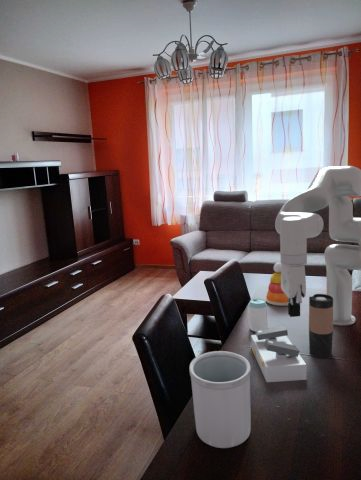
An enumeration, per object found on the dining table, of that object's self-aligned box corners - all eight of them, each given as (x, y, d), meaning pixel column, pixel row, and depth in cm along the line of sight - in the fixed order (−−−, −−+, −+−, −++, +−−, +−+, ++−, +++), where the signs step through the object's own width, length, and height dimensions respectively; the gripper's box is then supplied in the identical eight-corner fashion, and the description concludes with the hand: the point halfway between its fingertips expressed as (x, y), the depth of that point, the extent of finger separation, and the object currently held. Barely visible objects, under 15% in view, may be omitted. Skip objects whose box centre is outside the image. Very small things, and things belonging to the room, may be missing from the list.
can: (247, 332, 148) (247, 303, 145) (251, 324, 154) (250, 297, 152) (265, 334, 145) (265, 304, 143) (268, 326, 151) (268, 298, 149)
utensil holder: (213, 460, 85) (210, 390, 81) (182, 422, 98) (178, 361, 94) (264, 435, 91) (263, 370, 88) (229, 403, 104) (227, 345, 101)
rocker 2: (264, 344, 119) (265, 338, 118) (294, 351, 119) (296, 345, 119) (266, 350, 115) (268, 343, 115) (297, 357, 116) (299, 350, 116)
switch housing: (250, 348, 135) (250, 331, 134) (284, 345, 135) (284, 329, 134) (265, 382, 113) (265, 363, 112) (306, 379, 113) (306, 360, 112)
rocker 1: (256, 335, 130) (255, 329, 130) (284, 330, 130) (284, 325, 129) (258, 340, 126) (257, 334, 126) (287, 335, 126) (287, 329, 126)
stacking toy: (299, 299, 179) (299, 259, 176) (291, 309, 168) (291, 267, 164) (270, 295, 187) (270, 257, 183) (260, 305, 175) (260, 264, 172)
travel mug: (334, 359, 124) (335, 301, 120) (310, 358, 126) (310, 301, 122) (330, 348, 131) (331, 293, 128) (307, 347, 133) (307, 293, 129)
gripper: (274, 253, 119) (275, 307, 123) (288, 266, 104) (289, 327, 108) (297, 251, 119) (298, 305, 123) (315, 264, 105) (315, 324, 108)
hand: (294, 315), depth 116 cm, fingers closed
